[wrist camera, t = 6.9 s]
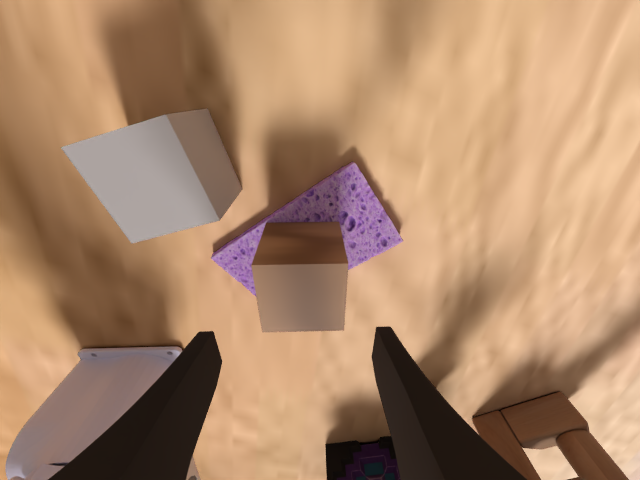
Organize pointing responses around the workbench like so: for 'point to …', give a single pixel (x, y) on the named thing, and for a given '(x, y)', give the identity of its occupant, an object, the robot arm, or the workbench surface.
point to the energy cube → (362, 461)
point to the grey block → (159, 173)
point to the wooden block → (547, 437)
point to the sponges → (322, 206)
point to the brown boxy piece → (301, 277)
